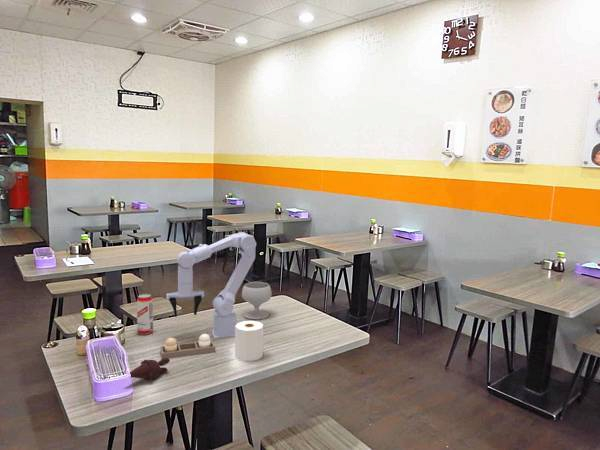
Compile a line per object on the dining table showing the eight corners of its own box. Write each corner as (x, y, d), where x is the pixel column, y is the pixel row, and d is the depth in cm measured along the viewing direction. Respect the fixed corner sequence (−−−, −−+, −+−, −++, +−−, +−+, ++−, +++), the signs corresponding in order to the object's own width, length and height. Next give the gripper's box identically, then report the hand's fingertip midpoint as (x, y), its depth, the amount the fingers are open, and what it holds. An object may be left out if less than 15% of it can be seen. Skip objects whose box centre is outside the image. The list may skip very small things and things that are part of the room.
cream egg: (209, 346, 170) (209, 331, 169) (211, 351, 166) (211, 335, 165) (197, 348, 168) (197, 332, 168) (199, 352, 164) (199, 336, 164)
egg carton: (212, 345, 172) (212, 339, 172) (215, 353, 165) (215, 347, 165) (160, 352, 165) (159, 346, 164) (161, 360, 158) (161, 354, 158)
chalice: (276, 313, 211) (277, 283, 209) (261, 322, 199) (262, 290, 197) (251, 309, 217) (251, 279, 215) (235, 317, 204) (236, 286, 202)
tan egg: (175, 350, 166) (175, 335, 165) (177, 355, 162) (177, 339, 161) (163, 352, 164) (163, 336, 163) (165, 357, 160) (165, 340, 159)
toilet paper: (266, 352, 168) (266, 321, 166) (258, 363, 158) (258, 331, 156) (240, 349, 170) (240, 319, 168) (231, 360, 160) (231, 328, 158)
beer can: (148, 336, 180) (147, 298, 178) (134, 334, 181) (133, 297, 179) (156, 330, 186) (155, 294, 184) (142, 329, 187) (141, 293, 185)
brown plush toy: (132, 373, 135) (175, 362, 146) (122, 359, 140) (164, 350, 151) (129, 392, 137) (171, 379, 148) (118, 378, 141) (161, 367, 152)
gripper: (202, 278, 180) (202, 310, 182) (165, 280, 175) (165, 313, 177) (205, 282, 174) (204, 315, 176) (167, 285, 169) (167, 319, 170)
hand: (185, 315), depth 176 cm, fingers open, 7 cm apart
